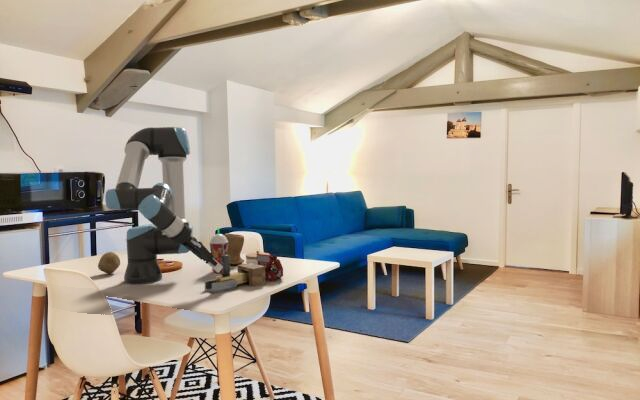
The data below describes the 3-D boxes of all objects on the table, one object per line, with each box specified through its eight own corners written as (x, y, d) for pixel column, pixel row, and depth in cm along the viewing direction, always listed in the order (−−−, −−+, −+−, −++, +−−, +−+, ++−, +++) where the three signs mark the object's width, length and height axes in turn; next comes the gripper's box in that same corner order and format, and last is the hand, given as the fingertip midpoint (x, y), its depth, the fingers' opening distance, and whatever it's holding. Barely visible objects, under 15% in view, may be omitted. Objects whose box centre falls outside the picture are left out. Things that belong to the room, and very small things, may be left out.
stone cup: (250, 262, 230) (249, 232, 229) (234, 267, 220) (233, 235, 219) (226, 260, 237) (225, 231, 236) (210, 264, 227) (209, 234, 226)
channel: (204, 290, 177) (204, 281, 177) (227, 285, 184) (227, 276, 183) (213, 293, 172) (212, 284, 172) (236, 288, 179) (236, 279, 179)
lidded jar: (266, 274, 202) (265, 253, 201) (242, 273, 204) (242, 252, 204) (273, 269, 213) (272, 249, 212) (251, 268, 215) (250, 248, 214)
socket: (238, 282, 189) (237, 265, 189) (250, 279, 193) (249, 262, 193) (252, 286, 181) (252, 268, 181) (265, 283, 185) (265, 266, 185)
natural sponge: (124, 273, 211) (123, 251, 211) (104, 277, 205) (103, 254, 204) (115, 270, 217) (114, 249, 217) (96, 274, 211) (95, 252, 210)
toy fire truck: (277, 282, 187) (276, 257, 186) (252, 279, 193) (252, 255, 192) (286, 279, 193) (286, 254, 192) (262, 276, 199) (262, 252, 199)
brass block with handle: (216, 285, 179) (215, 255, 178) (245, 279, 187) (244, 251, 186) (220, 287, 176) (219, 257, 175) (249, 281, 184) (248, 252, 184)
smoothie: (233, 271, 210) (231, 227, 209) (217, 274, 204) (215, 229, 203) (222, 268, 216) (220, 226, 215) (207, 272, 210) (205, 228, 209)
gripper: (162, 236, 168) (206, 274, 180) (177, 240, 158) (222, 280, 170) (175, 221, 171) (217, 259, 183) (191, 223, 162) (234, 264, 173)
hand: (220, 269), depth 177 cm, fingers closed
